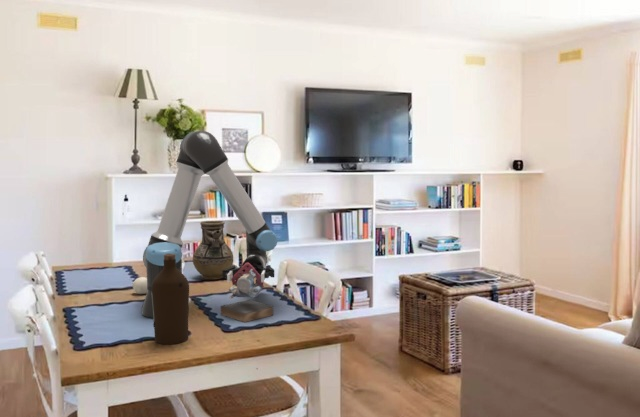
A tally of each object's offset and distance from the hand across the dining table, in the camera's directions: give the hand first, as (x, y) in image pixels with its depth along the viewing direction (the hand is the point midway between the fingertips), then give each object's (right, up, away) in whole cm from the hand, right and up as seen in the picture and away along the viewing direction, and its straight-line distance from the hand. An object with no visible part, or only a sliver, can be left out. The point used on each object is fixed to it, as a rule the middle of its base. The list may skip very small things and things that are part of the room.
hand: (245, 278), depth 191 cm
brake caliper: (0, -6, +4) cm, 7 cm away
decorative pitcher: (-23, -8, +68) cm, 72 cm away
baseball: (-45, -11, +37) cm, 59 cm away
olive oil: (-19, -15, -21) cm, 32 cm away
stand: (0, -13, +5) cm, 14 cm away
